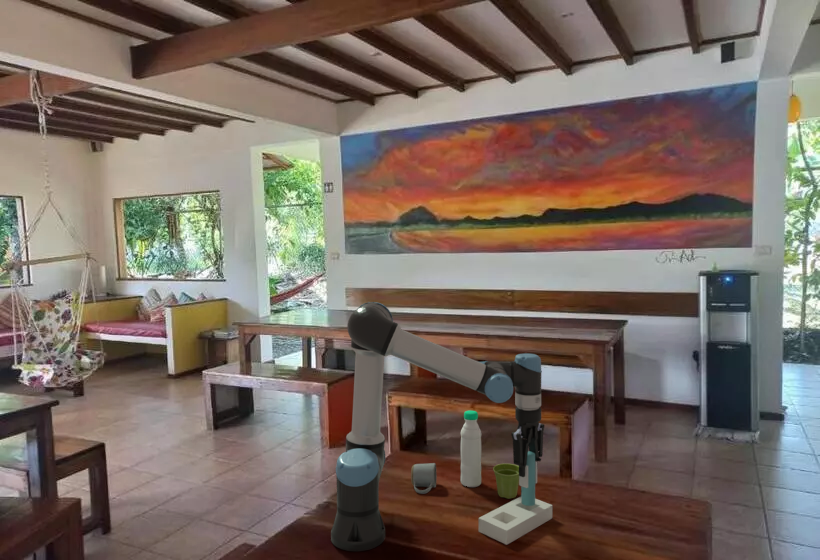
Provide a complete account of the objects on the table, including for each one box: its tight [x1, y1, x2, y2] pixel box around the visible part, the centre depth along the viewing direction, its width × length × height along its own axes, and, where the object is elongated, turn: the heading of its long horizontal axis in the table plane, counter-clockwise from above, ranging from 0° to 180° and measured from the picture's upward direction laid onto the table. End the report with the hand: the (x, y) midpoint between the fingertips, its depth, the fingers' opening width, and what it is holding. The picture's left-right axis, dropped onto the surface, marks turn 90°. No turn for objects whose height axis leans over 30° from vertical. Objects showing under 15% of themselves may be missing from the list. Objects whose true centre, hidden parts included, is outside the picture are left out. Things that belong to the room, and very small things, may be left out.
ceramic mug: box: [410, 462, 437, 495], centre depth 194 cm, size 11×8×8 cm
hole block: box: [478, 496, 553, 545], centre depth 168 cm, size 10×22×4 cm, turn 133°
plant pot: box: [492, 463, 519, 499], centre depth 188 cm, size 9×9×9 cm
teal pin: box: [520, 450, 536, 506], centre depth 171 cm, size 4×4×15 cm
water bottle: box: [460, 409, 482, 488], centre depth 196 cm, size 7×7×25 cm
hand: (528, 484), depth 171 cm, fingers closed on teal pin, 4 cm apart
